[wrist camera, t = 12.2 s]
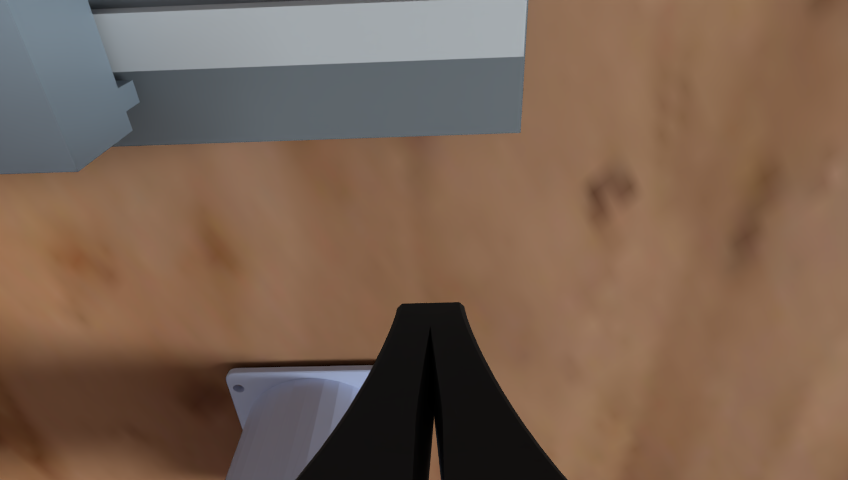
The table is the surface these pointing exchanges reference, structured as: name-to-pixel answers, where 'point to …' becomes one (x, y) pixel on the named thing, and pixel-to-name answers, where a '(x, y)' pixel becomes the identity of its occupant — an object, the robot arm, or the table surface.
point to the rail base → (315, 68)
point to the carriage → (56, 88)
